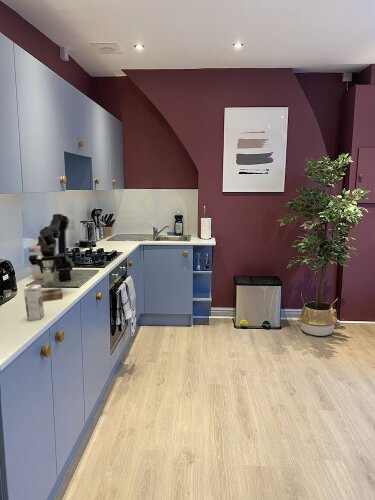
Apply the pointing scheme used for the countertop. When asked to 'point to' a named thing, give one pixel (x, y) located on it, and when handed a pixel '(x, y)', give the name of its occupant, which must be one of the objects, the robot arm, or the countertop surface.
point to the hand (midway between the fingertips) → (47, 272)
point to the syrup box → (34, 302)
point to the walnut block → (52, 294)
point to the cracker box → (35, 268)
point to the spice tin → (48, 276)
